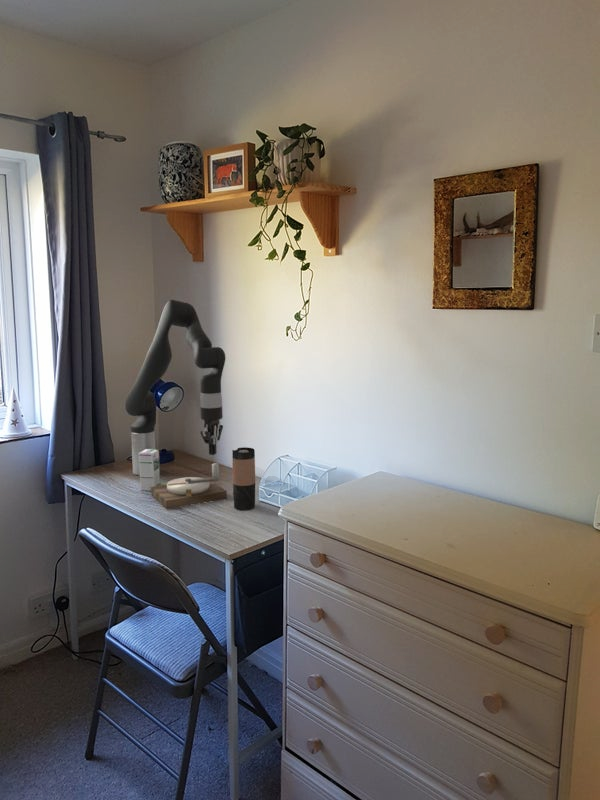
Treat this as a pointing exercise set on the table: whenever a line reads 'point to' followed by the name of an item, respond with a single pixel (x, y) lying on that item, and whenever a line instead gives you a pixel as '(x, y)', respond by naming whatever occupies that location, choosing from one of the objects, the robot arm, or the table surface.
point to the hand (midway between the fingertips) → (212, 454)
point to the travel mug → (244, 478)
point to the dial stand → (187, 496)
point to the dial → (193, 483)
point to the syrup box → (149, 469)
